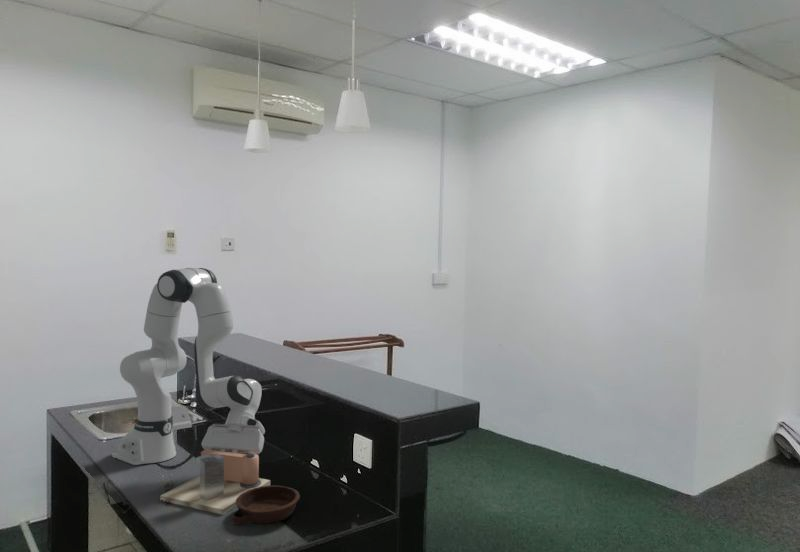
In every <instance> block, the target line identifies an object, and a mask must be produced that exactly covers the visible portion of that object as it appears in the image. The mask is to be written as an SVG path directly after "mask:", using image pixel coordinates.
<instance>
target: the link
mask: <svg viewBox="0 0 800 552" xmlns="http://www.w3.org/2000/svg"><path fill="white" fill-rule="evenodd" d="M207 454H210V455H212V456H214V455H218V454H219V455H221V456H223V457H224V480H229V481H236V482H242V483H243V484H245V485H253V484H256V483H258V482H259V478H260V475H259V474H260V472H259V470H260V468H259V467H260V465H259V464H260V462H259V461H260V457H259V454H255V452H247V454H245V453H239V454H238V453H230V452H222V451H214V450H206V449H205V450H204V449H203V450H202V451H200V456H203V455H207Z"/></svg>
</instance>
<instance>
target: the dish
mask: <svg viewBox="0 0 800 552" xmlns="http://www.w3.org/2000/svg"><path fill="white" fill-rule="evenodd" d="M300 497H301V495H300V493H299V491H298V490H297V489H294V488H292V487H289V486H283V485H275V484H274V485H270V486H261V487H257V488H253V489H250V490H248V491H246V492H244V493H242V494H241V495H239V496H238V497H237V499H236V505H237V506H236V507H237V510H235V512H233V513H232V515H231V521H232V523H234V524H239V525H240V524H246V523H251V524H258V525H268V524H273V523H274V524H275V523H278V522H281V521H283V520H285V519H287V518H289V517H290V516H291V515H292V514H293V512H294V511H295V508H296V506H297V503H298V502H299V500H300Z"/></svg>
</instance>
